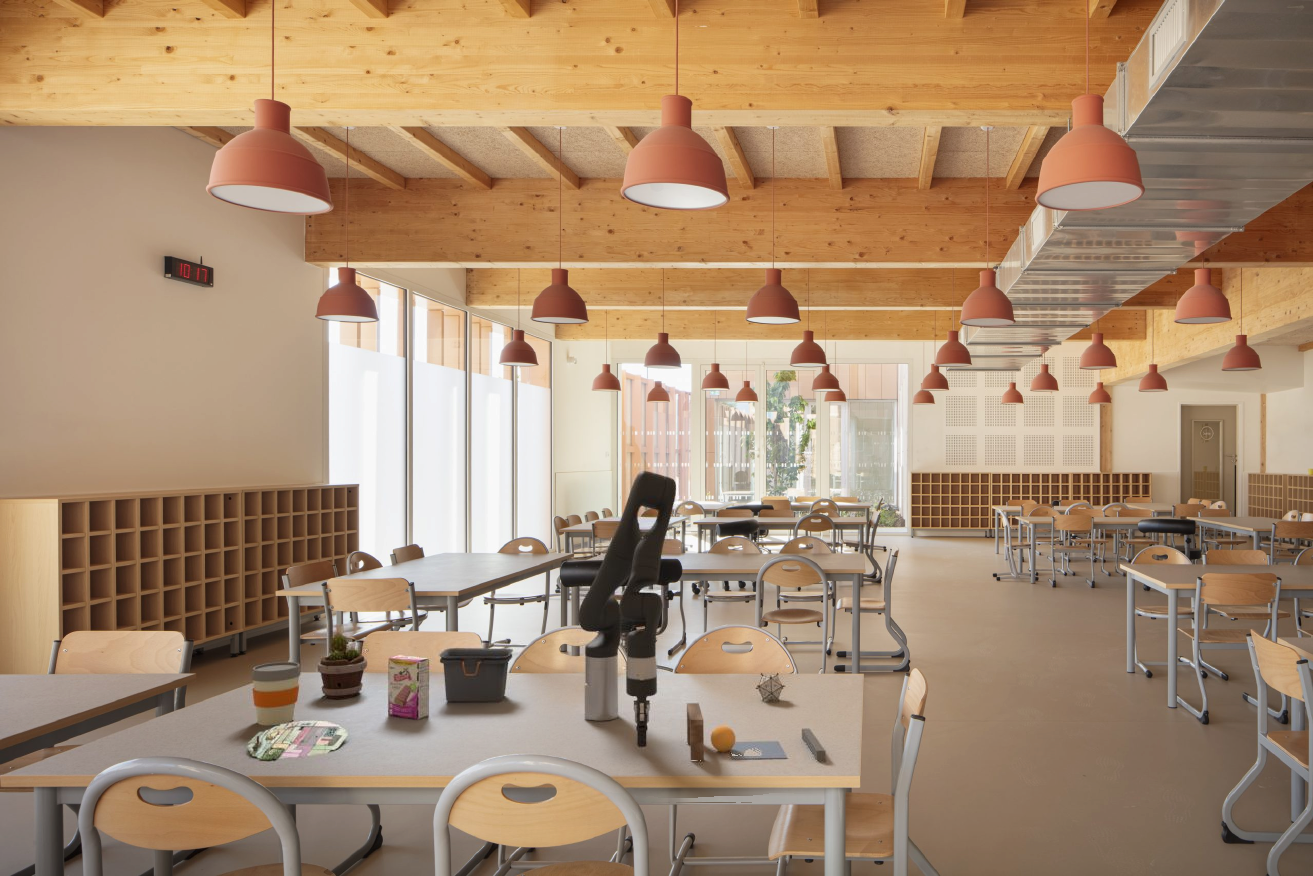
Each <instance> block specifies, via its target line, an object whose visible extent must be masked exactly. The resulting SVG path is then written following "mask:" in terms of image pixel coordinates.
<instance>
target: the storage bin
mask: <svg viewBox="0 0 1313 876" xmlns="http://www.w3.org/2000/svg"><path fill="white" fill-rule="evenodd" d="M513 652H514V649H513V648H512V649H511V648H485V647H484V648H480V647H479V648H478V647H476V648H475V647H473V648H472V647H467V648H466V647H453V648H452V647H451V648H446V649H444V650H443V651H442V652H441V653H440V654H438V656H439V657H440V659H439V663H441V664H443V674H444V676H443V677H444V689H445V700H446V701H447V702H450V703H454V702H456V703H457V702H458V703H459V702H461V703H462V702H463V703H464V702H465V703H466V702H469V703H470V702H472V703H473V702H475V703H476V702H477V703H478V702H479V703H482V702H483V703H487V702H488V703H491V702H492V703H497V702H501V701H502V699H503V698H504V696H505V694H506V689H507V676H508V669H509V668H508V667H509V662H510V660H511V659H512V658H513Z"/></svg>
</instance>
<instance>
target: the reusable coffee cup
mask: <svg viewBox="0 0 1313 876" xmlns="http://www.w3.org/2000/svg"><path fill="white" fill-rule="evenodd" d="M301 674H302V673H301V665H300V663H299V662H295V661H281V662H280V661H279V662H267V663H263V664H259V665H256V666H254V667H253V668H252V672H251V680H252V682H253V683H252V684H253V688H252V696H253V705H254V706H255V709H256V715H257V717H256V718H257V723H258V725H261V726H280V725H281V724H286V723H291V722H293V720H294V714H295V708H296V703H297V702H298V697H299V691H300V683H299V681H300V676H301Z"/></svg>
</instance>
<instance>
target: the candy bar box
mask: <svg viewBox="0 0 1313 876" xmlns="http://www.w3.org/2000/svg"><path fill="white" fill-rule="evenodd" d="M387 680H388V681H387V682H388V685H387V687H388V690H387V691H388V695H387V698H388V699H387V700H388V701H387V702H388V703H387V708H388V709H387V712H388V713H387V715H388V716H393V717H400V718H404V719H405V718H407V719H413V720H421V719H423V718H427V717H428V716H429V715H430V658H429V657H420V656H412V655H403V654H398V655H395V656H394V655H393V656H390V657H388V678H387Z"/></svg>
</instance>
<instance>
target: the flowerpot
mask: <svg viewBox="0 0 1313 876" xmlns="http://www.w3.org/2000/svg"><path fill="white" fill-rule="evenodd" d="M331 636H332V637H331V638H330V644H329V649H330V653H329V654H330V655H328V656H324V657H321V659H320V661H319V662H318V663H317V667H316V668H317V672H319V673H320V677H321V680H322V684H323V685H321V691H322V693H323V695H324V696H325V698H326V699H334V700H341V699H343V700H344V699H347V698H352V697H354V696H358V695H359V694H360V692H361V691H362V688H363V682H362V679H363V676H364V670H365V669H366V668H368V667H367V666H368V660H367V659H366V658H365V656H363V655H362V654H361V653H360V651H358V649H357V648H355V647H354V646H352V645H350V646H349V640H348V636H347V635H343V632H342V631H336V633H335V632H333V635H331Z"/></svg>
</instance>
